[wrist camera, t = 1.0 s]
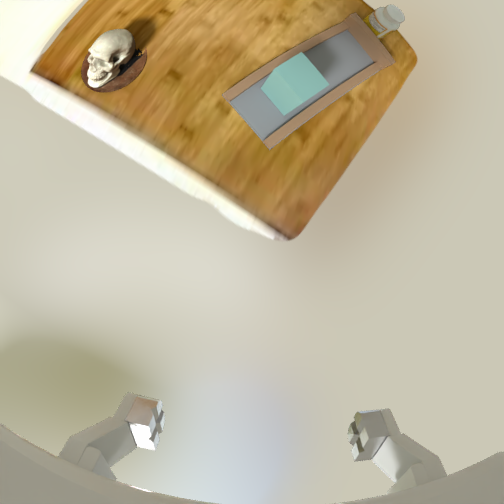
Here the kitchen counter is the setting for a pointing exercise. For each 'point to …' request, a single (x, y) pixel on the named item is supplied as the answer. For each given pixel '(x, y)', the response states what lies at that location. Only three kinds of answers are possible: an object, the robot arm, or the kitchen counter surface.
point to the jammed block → (293, 83)
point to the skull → (112, 61)
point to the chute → (330, 67)
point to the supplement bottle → (384, 20)
